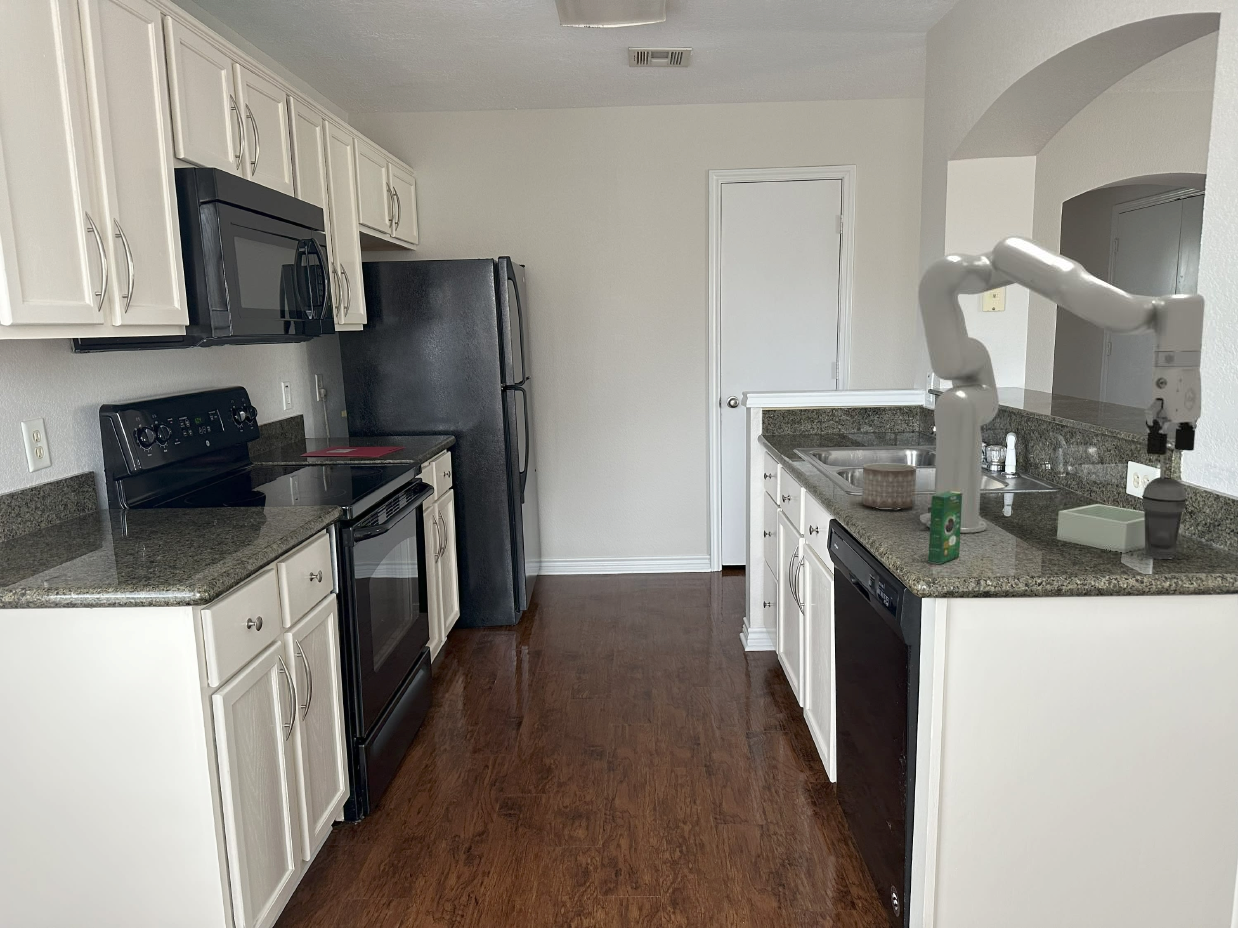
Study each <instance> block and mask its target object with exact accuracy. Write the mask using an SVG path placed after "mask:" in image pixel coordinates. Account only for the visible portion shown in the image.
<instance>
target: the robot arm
mask: <svg viewBox="0 0 1238 928" xmlns="http://www.w3.org/2000/svg"><path fill="white" fill-rule="evenodd" d="M1014 284H1017V285H1019V286H1021V287H1022V288H1026V289H1028V290H1030V291H1032V292H1033V293H1036V294H1037V295H1039V296H1041V297H1043V298H1045V299H1047V300H1049V301H1051V302H1052V303H1054V304H1055V305H1057V306H1059V307H1061V308H1063V309H1065V310H1067V311H1069V312H1070V313H1072V314H1074V315H1075V316H1077V317H1079V318H1081V319H1083V320H1085V321H1087V322H1089V323H1092V324H1093V325H1095V326H1097V327H1099V328H1102V329H1103V330H1106V331H1107V332H1109V333H1111V334H1115V335H1118V336H1127V335H1129V336H1137V335H1138V336H1139V335H1144V334H1151V333H1154V337H1153V339H1154V340H1153V353H1152V366H1151V367H1152V370H1153V373H1152V377H1151V378H1152V379H1151V383H1150V390H1149V391H1150V392H1149V400H1148V401H1149V402H1148V407H1147V408H1146V409H1145V410H1144V417H1145V426H1146V433H1147V442H1146V443H1147V444H1146V453H1147V454H1148V455H1156V456H1160V455H1163V456H1165V455H1167V447H1168V444H1167V443H1168V433H1166V431H1167V430H1168V427H1169V425H1170V423H1171V422H1172V423H1174V424H1176V425H1177V426H1178V428H1176V429H1175V437H1174V438H1175V439H1174V449H1175V450H1179V451H1186V452H1187V451H1190V452H1192V451H1194V450H1195V439H1196V430H1197V428H1198V425H1197V422H1198V420H1199V419H1200V418H1201V415H1202V378H1201V377H1202V376H1201V370H1200V369H1201V361H1202V347H1203V346H1202V345H1203V332H1204V331H1203V329H1204V319H1205V318H1204V316H1205V304H1206V303H1205V298H1204V296H1203V295H1202V294H1199V293H1172V294H1170V293H1169V294H1165V295H1162V296H1148V295H1139V294H1134V293H1133V294H1132V293H1129V292H1126V291H1124V290H1123V289H1120V288H1118V287H1116V286H1114V285H1111V284H1110V283H1108V282H1106V281H1104V280H1101V279H1099V278H1097V277H1096V276H1095V275H1092V274H1091V273H1090V272H1088V271H1087V269H1085V267H1084V266H1083V265H1082V264H1081V263H1079V262H1078V261H1076V260H1073V259H1072V258H1069V257H1066V256H1065V255H1063V254H1060V253H1057V252H1055V251H1053V250H1051V249H1049V248H1047V247H1045V246H1044V245H1043V244H1042V243H1041V242H1040V241H1039V240H1036V239H1034V238H1030V237H1026V236H1020V235H1011V236H1007V237H1004V238H1003V239H1002V238H1001V240H999V241H998V242H997V243H996V245H995V246H993V248H992V250H990V251H987V252H984V253H980V254H976V255H972V254H968V253H961V252H960V253H959V252H958V253H957V252H955V253H948V254H945V255H942V256H941V257H939V258H937V259H935V260H934V261H933V262H932V263H931V264H930V265H929V266H928V267H927V269H926V270H925V271H924V272H923V275H922V277H921V279H920V282H919V285H918V292H917V293H918V294H917V295H918V305H919V310H920V314H921V319H922V324H923V329H924V336H925V340H926V345H927V351H928V355H929V361H930V366H931V369H932V372H933V373H934V375H935V376H936V377H937V378H939V379H940V380H944V381H950V382H951V384H952V385H951V386H952V387H949V388H948V389H946V390H945V391H943V392H942V393H941V394H940V395H939V397H938V398H937V400H936V402H935V406H934V409H933V411H934V412H933V414H934V415H933V418H934V424H935V425H934V426H935V437H936V439H935V441H936V443H935V470H934V491H933V492H934V493H933V495H936V494H940V493H944V492H948V491H957V492H962V509H961V530H960V534H962V533H963V534H964V533H967V534H969V533H978V532H983V531H985V530H986V529H987V523H986V522H985V521H982V520H980V504H981V483H982V465H983V462H982V461H983V438H982V437H983V436H982V432H981V431H982V430H981V426H983V425H986V424H989V423H990V422H991V421H992V420H993V419H994V418H995V417H996V415H997V413H998V411H999V406H1000V402H999V401H1000V400H999V394H998V389H997V384H996V378H995V373H994V369H993V363H992V359H991V356H990V352H989V351H988V349H987V347H986V346H985V344H984V343H983V342H982V341H980V340H978V339H977V338H973V337H972V336H969V334H968V330H967V325H966V319H965V315H964V314H965V313H964V311H963V310H962V307H961V304H960V301H959V295H978V294H982V293H986V292H990V291H994V290H997V289H1001V288H1004V287H1007V286H1012V285H1014ZM930 518H931V511H930V512H926V513H922V514H921V515H920V516H919V520H920V522H921V523H922V524H925V525H926V527H927V528H929V529H930Z"/></svg>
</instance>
